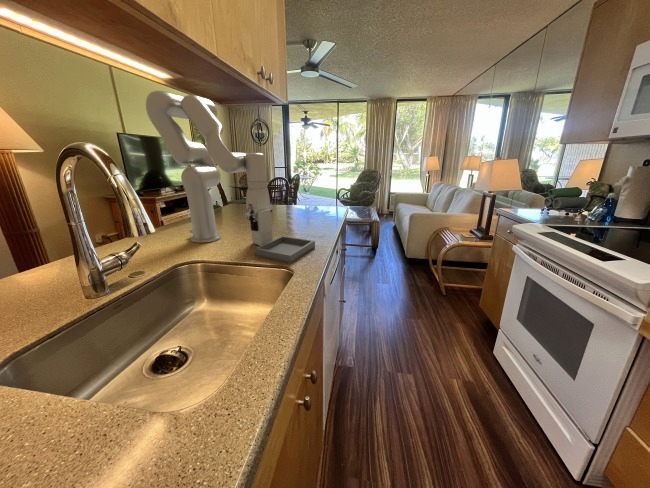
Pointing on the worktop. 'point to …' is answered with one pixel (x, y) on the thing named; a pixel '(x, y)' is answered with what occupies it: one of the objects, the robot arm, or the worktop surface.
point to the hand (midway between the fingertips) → (261, 227)
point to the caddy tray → (285, 249)
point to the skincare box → (263, 228)
